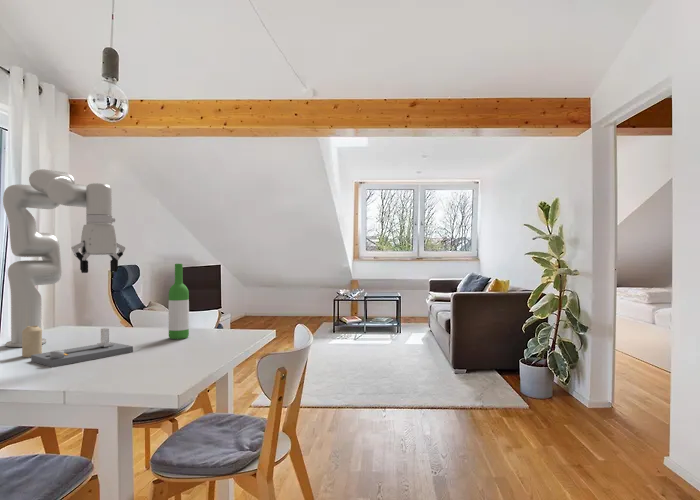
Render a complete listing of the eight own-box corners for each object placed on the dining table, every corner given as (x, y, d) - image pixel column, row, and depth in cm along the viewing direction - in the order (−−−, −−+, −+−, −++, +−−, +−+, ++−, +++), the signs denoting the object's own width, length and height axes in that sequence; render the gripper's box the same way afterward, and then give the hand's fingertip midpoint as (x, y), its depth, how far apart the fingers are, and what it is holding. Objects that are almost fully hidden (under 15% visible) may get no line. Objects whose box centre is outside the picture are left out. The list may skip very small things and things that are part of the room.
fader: (97, 345, 165) (97, 328, 165) (105, 344, 167) (105, 327, 167) (104, 346, 162) (104, 329, 162) (112, 345, 165) (112, 328, 165)
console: (31, 361, 152) (31, 348, 152) (110, 347, 173) (110, 336, 173) (52, 367, 144) (52, 353, 144) (132, 352, 166) (132, 340, 166)
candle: (32, 357, 157) (32, 327, 157) (18, 357, 158) (18, 327, 158) (45, 354, 162) (45, 324, 162) (32, 353, 163) (32, 324, 163)
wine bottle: (177, 340, 187) (177, 264, 188) (164, 338, 191) (164, 263, 192) (193, 337, 194) (192, 263, 194) (180, 335, 198) (180, 263, 198)
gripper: (118, 222, 169) (118, 271, 168) (66, 220, 154) (66, 273, 154) (130, 221, 164) (130, 271, 164) (77, 218, 150) (78, 273, 150)
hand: (99, 272), depth 159 cm, fingers open, 9 cm apart
